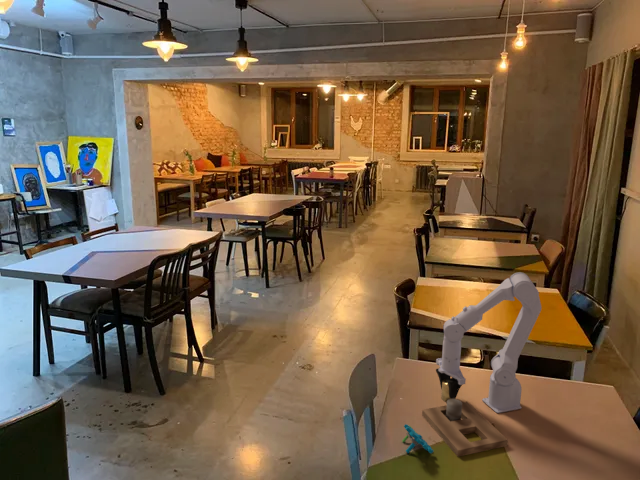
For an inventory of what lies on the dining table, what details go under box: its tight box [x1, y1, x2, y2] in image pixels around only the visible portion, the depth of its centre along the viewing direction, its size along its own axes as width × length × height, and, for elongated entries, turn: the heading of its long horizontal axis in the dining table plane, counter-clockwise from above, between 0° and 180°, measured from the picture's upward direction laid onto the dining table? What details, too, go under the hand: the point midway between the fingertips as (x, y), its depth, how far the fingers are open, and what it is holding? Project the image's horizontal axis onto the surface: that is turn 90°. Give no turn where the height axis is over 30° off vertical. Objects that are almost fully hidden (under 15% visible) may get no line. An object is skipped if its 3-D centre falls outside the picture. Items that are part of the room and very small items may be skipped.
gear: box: [401, 423, 434, 454], centre depth 130 cm, size 11×6×10 cm
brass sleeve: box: [440, 379, 456, 403], centre depth 156 cm, size 4×4×6 cm
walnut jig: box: [421, 398, 509, 458], centre depth 139 cm, size 16×20×6 cm
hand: (448, 393), depth 156 cm, fingers closed on brass sleeve, 4 cm apart
